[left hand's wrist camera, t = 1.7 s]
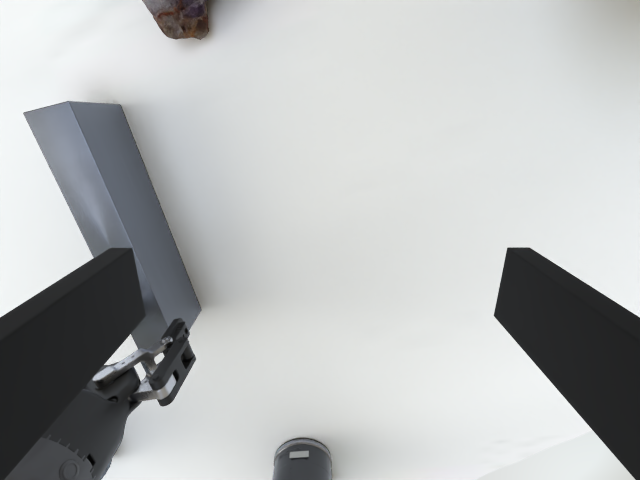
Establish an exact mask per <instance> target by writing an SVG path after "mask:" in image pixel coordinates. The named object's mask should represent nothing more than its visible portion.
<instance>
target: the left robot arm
mask: <svg viewBox="0 0 640 480" xmlns="http://www.w3.org/2000/svg"><path fill="white" fill-rule="evenodd" d="M145 316H146V313H145V308H144V303H143V298H142V293H141V288H140V283H139V278H138V273H137V268H136V263H135V258H134V253H133V248H109V249H108V250H106V251H105V252H103V253H101V254H100V255H98V256H97V257H95V258H94V259H92V260H90V261H89V262H87V263H86V264H84V265H82V266H81V267H79V268H78V269H76V270H75V271H73V272H71V273H70V274H68V275H67V276H65V277H64V278H62V279H60V280H59V281H57V282H56V283H54V284H53V285H51V286H49V287H48V288H46V289H45V290H43V291H42V292H40V293H38V294H37V295H35V296H34V297H32V298H30V299H29V300H27V301H26V302H24V303H23V304H21V305H19V306H18V307H16V308H15V309H13V310H12V311H10V312H8V313H7V314H5V315H4V316H2V317H1V318H0V480H4V479H5V478H6V477H7V476H8V475H9V474H10V472H11V471H12V470H13V469H14V468H15V467H16V466H17V464H18V463H19V462H20V461H21V460H22V459H23V457H24V456H25V455H26V454H27V453H28V452H29V451H30V449H31V448H32V447H33V446H34V445H35V444H36V442H37V441H38V440H39V439H40V438H41V437H42V436H43V434H44V433H45V432H46V431H47V430H48V429H49V427H50V426H51V425H52V424H53V423H54V422H55V420H56V419H57V418H58V417H59V416H60V415H61V414H62V412H63V411H64V410H65V409H66V408H67V407H68V405H69V404H70V403H71V402H72V401H73V400H74V399H75V397H76V396H77V395H78V394H79V393H80V392H81V390H82V389H83V388H84V387H85V386H86V385H87V383H88V382H89V381H90V380H91V379H92V378H93V377H94V375H95V374H96V373H97V372H98V371H99V370H100V368H101V367H102V366H103V365H104V364H105V363H106V362H107V360H108V359H109V358H110V357H111V356H112V355H113V353H114V352H115V351H116V350H117V349H118V348H119V346H120V345H121V344H122V343H123V342H124V341H125V340H126V338H127V337H128V336H129V335H130V334H131V333H132V331H133V330H134V329H135V328H136V327H137V326H138V325H139V323H140V322H141V321H142V320H143V319H144V318H145ZM494 316H495V318H496V319H497V320H498V321H499V322H500V323H501V325H502V326H503V327H504V328H505V329H506V330H507V331H508V333H509V334H510V335H511V336H512V337H513V338H514V340H515V341H516V342H517V343H518V344H519V345H520V347H521V348H522V349H523V350H524V351H525V352H526V353H527V355H528V356H529V357H530V358H531V359H532V360H533V362H534V363H535V364H536V365H537V366H538V367H539V368H540V370H541V371H542V372H543V373H544V374H545V375H546V377H547V378H548V379H549V380H550V381H551V382H552V383H553V385H554V386H555V387H556V388H557V389H558V390H559V392H560V393H561V394H562V395H563V396H564V397H565V399H566V400H567V401H568V402H569V403H570V404H571V405H572V407H573V408H574V409H575V410H576V411H577V412H578V414H579V415H580V416H581V417H582V418H583V419H584V420H585V422H586V423H587V424H588V425H589V426H590V427H591V429H592V430H593V431H594V432H595V433H596V434H597V435H598V437H599V438H600V439H601V440H602V441H603V442H604V444H605V445H606V446H607V447H608V448H609V449H610V451H611V452H612V453H613V454H614V455H615V456H616V457H617V459H618V460H619V461H620V462H621V463H622V464H623V465H624V467H625V468H626V469H627V470H628V471H629V472H630V474H631V475H632V476H633V477H634V478H635V479H636V480H640V318H639V317H638V316H636V315H635V314H633V313H632V312H630V311H628V310H627V309H625V308H624V307H622V306H621V305H619V304H617V303H616V302H614V301H613V300H611V299H610V298H608V297H606V296H605V295H603V294H602V293H600V292H598V291H597V290H595V289H594V288H592V287H591V286H589V285H587V284H586V283H584V282H583V281H581V280H580V279H578V278H576V277H575V276H573V275H572V274H570V273H569V272H567V271H565V270H564V269H562V268H561V267H559V266H558V265H556V264H554V263H553V262H551V261H550V260H548V259H546V258H545V257H543V256H542V255H540V254H539V253H537V252H535V251H534V250H532V249H531V248H507V253H506V258H505V263H504V268H503V273H502V278H501V283H500V288H499V293H498V298H497V303H496V308H495V313H494Z"/></svg>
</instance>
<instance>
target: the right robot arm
mask: <svg viewBox="0 0 640 480" xmlns="http://www.w3.org/2000/svg"><path fill="white" fill-rule="evenodd" d="M189 335H190V332H189V330H188V327H187V325H186V323H185V321H184V322H183V319H182V318H177V319H174V320H173V321H172V323H171V324H170V326H169V327H168V329H167V330H166V331H165V333H164V334H163V336H162V337H161V340H160V341H159V342H157V343H156V344H154V345H153V346H151V347H150V348H148V349H143V348H141V349H138V350H137V351H135V352H134V353H132V354H131V355H129V356H128V357H126V358H125V359H123V360H122V361H120V362H117V363H114V364H111V365H103V366H102V367H101V368H100V370H99V371H98V372H97V373H96V374H95V375H94V377H93V378H92V379H91V380H90V381H89V382H88V383H87V385H86V386H85V387H84V388H83V389H82V390H81V392H80V393H79V394H78V395H77V396H76V397H75V399H74V400H73V401H72V402H71V403H70V404H69V405H68V407H67V408H66V409H65V410H64V411H63V412H62V414H61V415H60V416H59V417H58V418H57V419H56V420H55V422H54V423H53V424H52V425H51V426H50V427H49V429H48V430H47V431H46V432H45V433H44V434H43V436H42V437H41V438H40V439H39V440H38V441H37V442H36V444H35V445H34V446H33V447H32V448H31V449H30V451H29V452H28V453H27V454H26V455H25V456H24V457H23V459H22V460H21V461H20V462H19V463H18V464H17V466H16V467H15V468H14V469H13V470H12V471H11V472H10V474H9V475H8V476H7V477H6V478H5V479H4V480H100V478H101V476H102V474H103V473H104V471H105V469H106V468H107V466H108V464H109V462H110V461H111V459H112V457H113V456H114V454H115V452H116V450H117V449H118V447H119V445H120V444H121V441H122V438H123V434H124V428H125V423H126V420H127V417H128V415H129V414H130V413H131V412H132V411H133V410H134V409H135V408H136V407H137V406H139V405H140V403H141V402H142V401H145V400H152V399H157V400H158V402H159V404H160V406H166V405H168V404H170V403H171V402H172V401H173V400H174V398H175V396H176V395H177V393H178V391H179V389H180V387H181V386H182V384H183V382H184V380H185V378H186V377H187V375H188V373H189V371H190V369H191V368H192V366H193V364H194V362H195V360H196V357H195V355H194V354H193V351H192V349H191V347H190V344H189V341H188V339H187V338H188V337H189ZM161 352H163V354H164V356H165V357H164V358H163V360H162V361H161V362H160V363H158V364H157V365H156V363H155V361H154V358H155V356H157V355H158V354H159V353H161ZM139 362H141V364H142V366H143V368H144V370H145V372H146V377H145V378H144V379H143V380H142V381H141V382H140V379H139V376H138V374H137V372H136V370H135V368H134V366H135V365H136V364H137V363H139ZM273 480H332V470H331V455H330V453H329V451H328V449H327V448H326V447H325V446H324V445H322V444H321V443H319V442H317V441H314V440H310V439H295V440H291V441H289V442H286V443H285V444H283V445H282V446H281V447H280V448H279V449H278V450H277V452H276V454H275V459H274V472H273Z"/></svg>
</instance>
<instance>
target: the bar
mask: <svg viewBox="0 0 640 480" xmlns="http://www.w3.org/2000/svg"><path fill="white" fill-rule="evenodd" d="M23 114H24V116H25V118H26V120H27V122H28V124H29V126H30V128H31V130H32V132H33V134H34V136H35V138H36V140H37V142H38V144H39V147H40V149H41V151H42V153H43V155H44V157H45V159H46V161H47V163H48V165H49V167H50V169H51V171H52V173H53V175H54V177H55V179H56V181H57V183H58V185H59V188H60V190H61V192H62V194H63V196H64V198H65V200H66V202H67V204H68V206H69V208H70V210H71V212H72V214H73V216H74V218H75V220H76V222H77V224H78V226H79V229H80V231H81V233H82V235H83V237H84V239H85V241H86V243H87V245H88V247H89V249H90V251H91V253H92V255H93V257H94V258H95V257H97V256H98V255H100V254H101V253H103V252H105V251H106V250H108V249H109V248H133V253H134V258H135V263H136V268H137V273H138V278H139V283H140V288H141V293H142V298H143V303H144V308H145V313H146V316H145V318H144V319H143V320H142V321H141V322H140V323H139V325H138V326H137V327H136V328H135V329H134V330H133V331H132V333H131V335H132V337H133V339H134V341H135V343H136V345H137V347H138V349H141V348H143V349H148V348H150V347H151V346H153V345H154V344H156V343H157V342H159V341H160V340H161V337H162V336H163V334H164V333H165V331H166V330H167V329H168V327H169V326H170V324H171V323H172V321H173V320H174V319H177V318H182V319H183V322H184V321H185V323H186V325H187V327H188V330H190V328H191V327H192V325H193V323H194V322H195V320H196V318H197V317H198V315H199V313H200V312H201V308H200V305H199V303H198V300H197V298H196V295H195V292H194V290H193V287H192V285H191V282H190V280H189V277H188V275H187V272H186V270H185V267H184V265H183V262H182V260H181V257H180V254H179V252H178V249H177V247H176V244H175V242H174V239H173V237H172V234H171V232H170V229H169V227H168V224H167V222H166V219H165V216H164V214H163V211H162V209H161V206H160V204H159V201H158V199H157V196H156V194H155V191H154V189H153V186H152V184H151V181H150V178H149V176H148V173H147V171H146V168H145V166H144V163H143V161H142V158H141V156H140V153H139V151H138V148H137V146H136V143H135V141H134V138H133V135H132V133H131V130H130V128H129V125H128V123H127V120H126V118H125V115H124V113H123V110H122V108H121V105H120V104H105V103H90V102H74V101H67V102H63V103H59V104H55V105H51V106H47V107H43V108H40V109H36V110H32V111H28V112H24V113H23ZM161 353H162V352H161Z"/></svg>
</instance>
